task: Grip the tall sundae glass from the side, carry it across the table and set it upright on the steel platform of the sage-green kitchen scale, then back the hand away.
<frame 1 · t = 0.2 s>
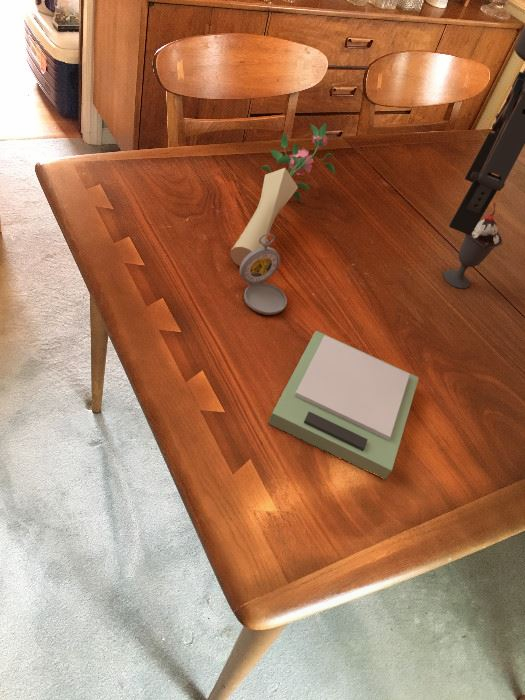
hand: (467, 204, 70), 24 cm above the table, tool pointing down, fingers open, 13 cm apart
sundae: (455, 280, 101), on the table
flower vase: (273, 218, 101), on the table
pocket watch: (261, 297, 86), on the table
scale: (344, 404, 75), on the table
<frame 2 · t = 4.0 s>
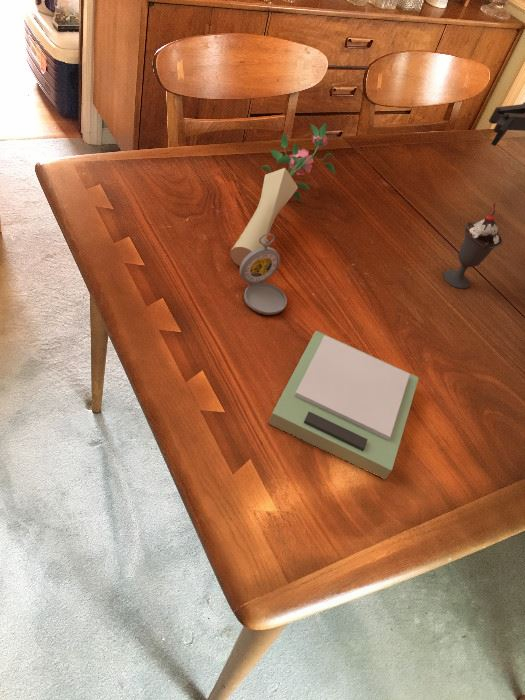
nothing on the table moved.
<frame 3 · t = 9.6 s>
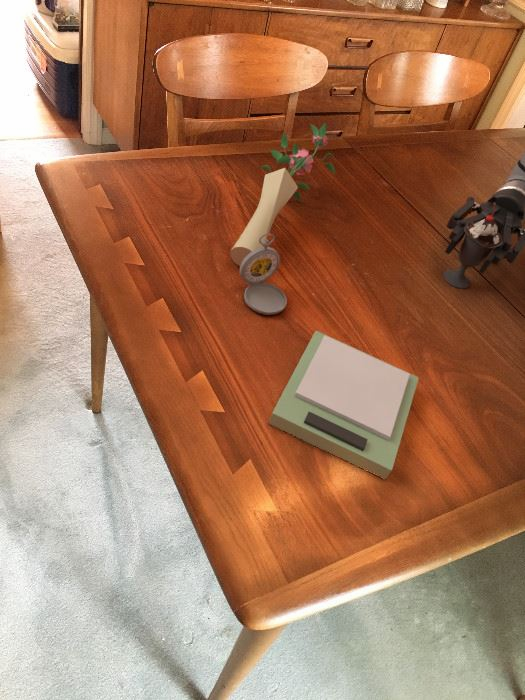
hand: (467, 256, 91), 8 cm above the table, tool horizontal, fingers closed on sundae, 6 cm apart
sundae: (455, 280, 101), on the table, touching gripper
everything else where it was.
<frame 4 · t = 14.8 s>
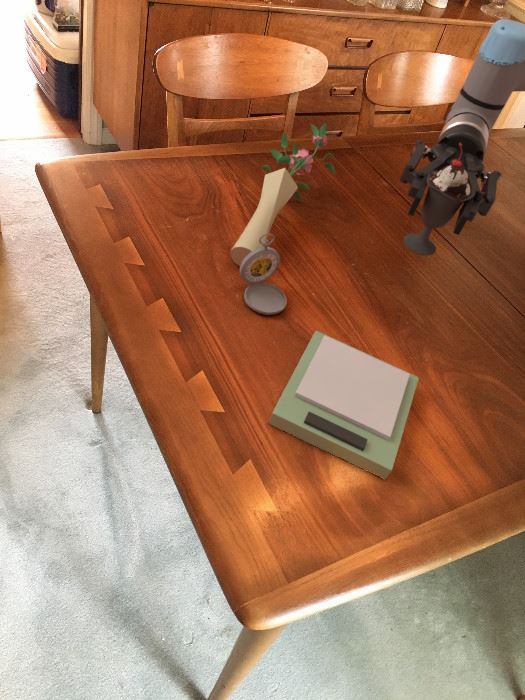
hand: (437, 215, 72), 21 cm above the table, tool horizontal, fingers closed on sundae, 6 cm apart
sundae: (418, 245, 81), point 13 cm above the table, touching gripper
everything else where it was.
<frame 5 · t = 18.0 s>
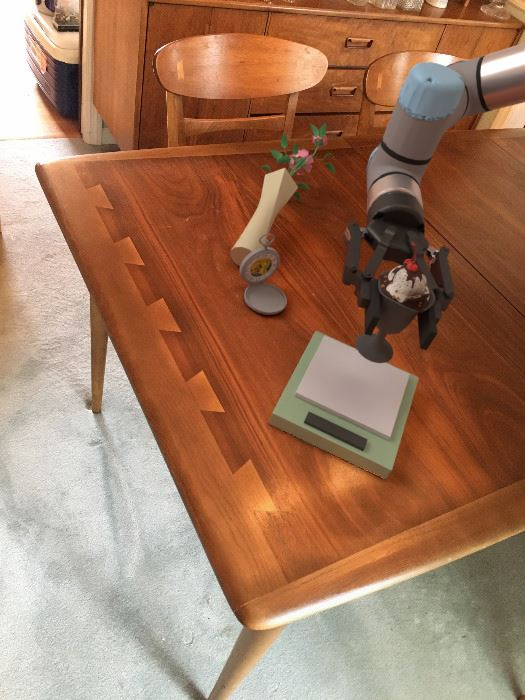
hand: (400, 333, 60), 18 cm above the table, tool horizontal, fingers closed on sundae, 6 cm apart
sundae: (373, 349, 69), point 10 cm above the table, touching gripper
everything else where it was.
when the fingers open (11 cm above the table, at t = 20.2 s): sundae stays where it is, resting on scale.
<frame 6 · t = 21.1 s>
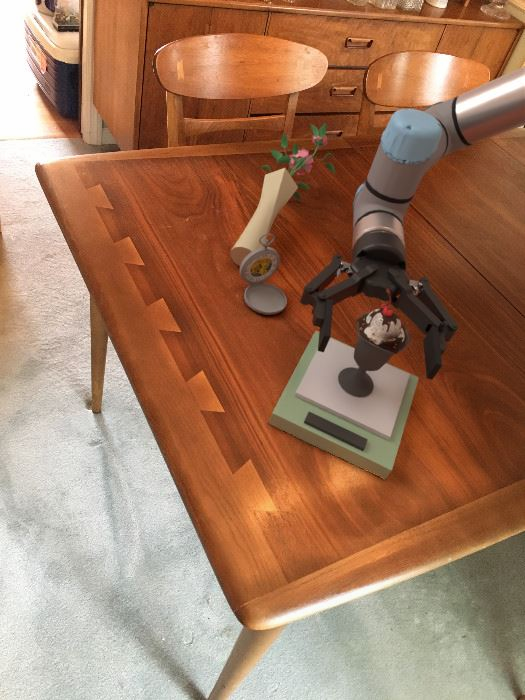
hand: (379, 358, 65), 12 cm above the table, tool horizontal, fingers open, 13 cm apart
sundae: (354, 383, 74), point 3 cm above the table, touching scale
everything else where it was.
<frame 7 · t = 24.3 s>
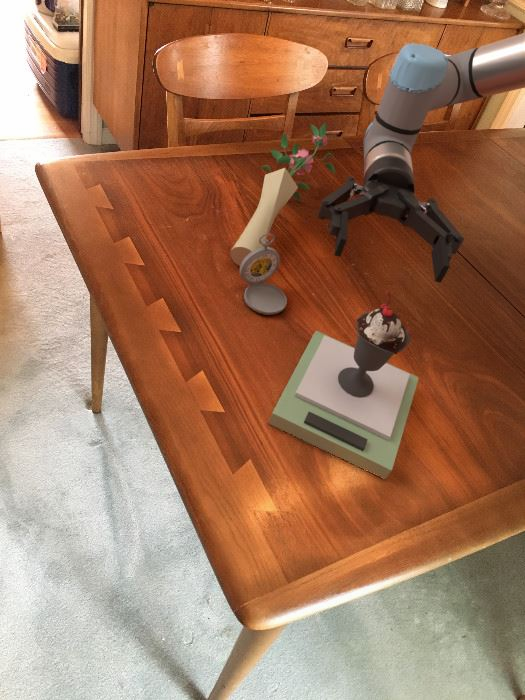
hand: (391, 261, 71), 16 cm above the table, tool horizontal, fingers open, 13 cm apart
nothing on the table moved.
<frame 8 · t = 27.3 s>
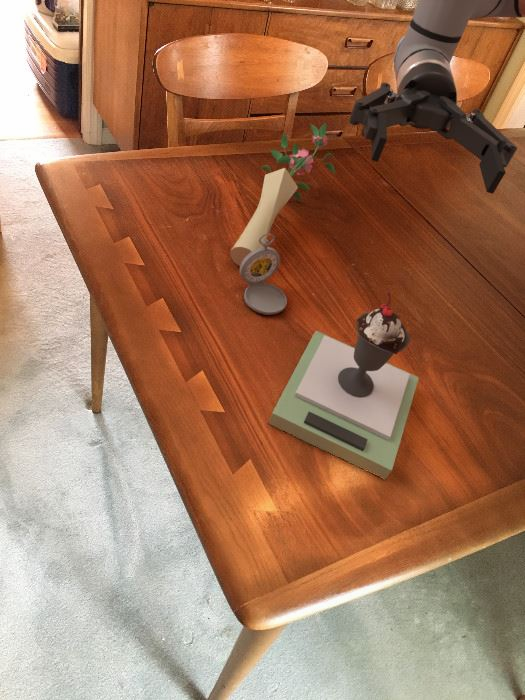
hand: (438, 166, 61), 30 cm above the table, tool horizontal, fingers open, 13 cm apart
nothing on the table moved.
at the end: sundae inside the target area on the scale (0.1 cm from its centre), point 3.0 cm above the scale's base; sundae tilted 0°; the gripper is holding nothing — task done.
